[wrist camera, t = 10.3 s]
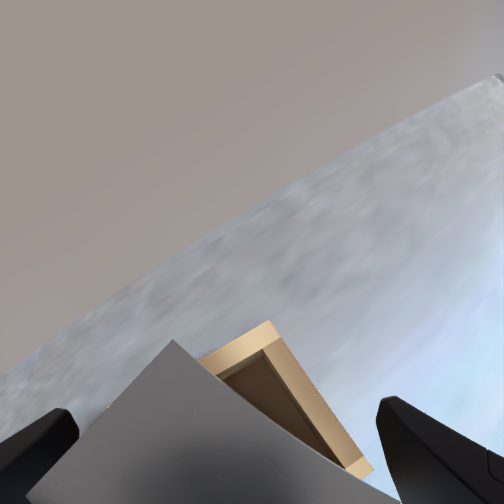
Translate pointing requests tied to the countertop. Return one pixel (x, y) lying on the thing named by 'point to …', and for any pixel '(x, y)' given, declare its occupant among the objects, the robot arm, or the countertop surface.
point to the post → (193, 450)
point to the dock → (284, 394)
